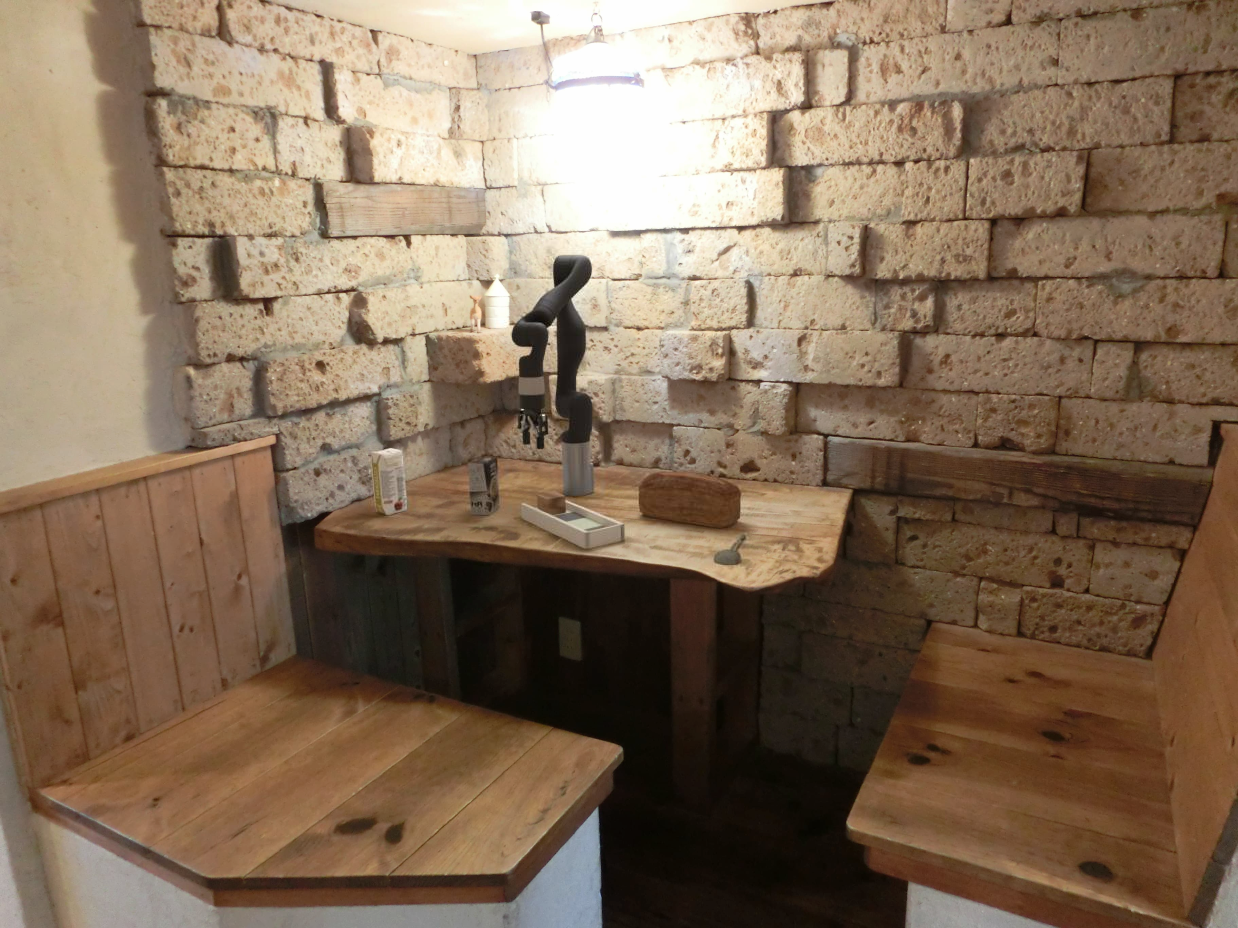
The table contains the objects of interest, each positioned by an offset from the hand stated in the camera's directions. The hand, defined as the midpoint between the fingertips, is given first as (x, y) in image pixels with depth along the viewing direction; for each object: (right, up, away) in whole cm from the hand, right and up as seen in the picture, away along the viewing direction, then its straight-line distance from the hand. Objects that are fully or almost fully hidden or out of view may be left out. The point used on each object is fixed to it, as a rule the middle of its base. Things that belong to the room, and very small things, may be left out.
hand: (533, 446), depth 250 cm
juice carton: (-45, -20, +10) cm, 50 cm away
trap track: (+11, -23, -10) cm, 28 cm away
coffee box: (-15, -20, +9) cm, 26 cm away
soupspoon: (+55, -28, -31) cm, 69 cm away
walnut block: (+6, -19, -3) cm, 20 cm away
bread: (+46, -21, -4) cm, 50 cm away
